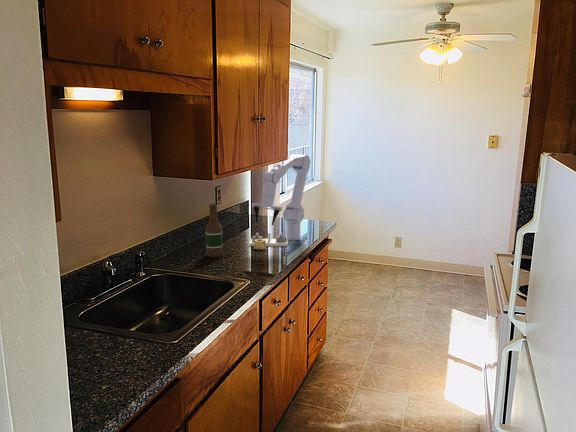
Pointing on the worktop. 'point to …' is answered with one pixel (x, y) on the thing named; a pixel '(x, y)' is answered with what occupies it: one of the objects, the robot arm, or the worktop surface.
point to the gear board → (271, 240)
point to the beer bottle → (214, 234)
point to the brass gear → (260, 244)
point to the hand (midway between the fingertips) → (264, 224)
